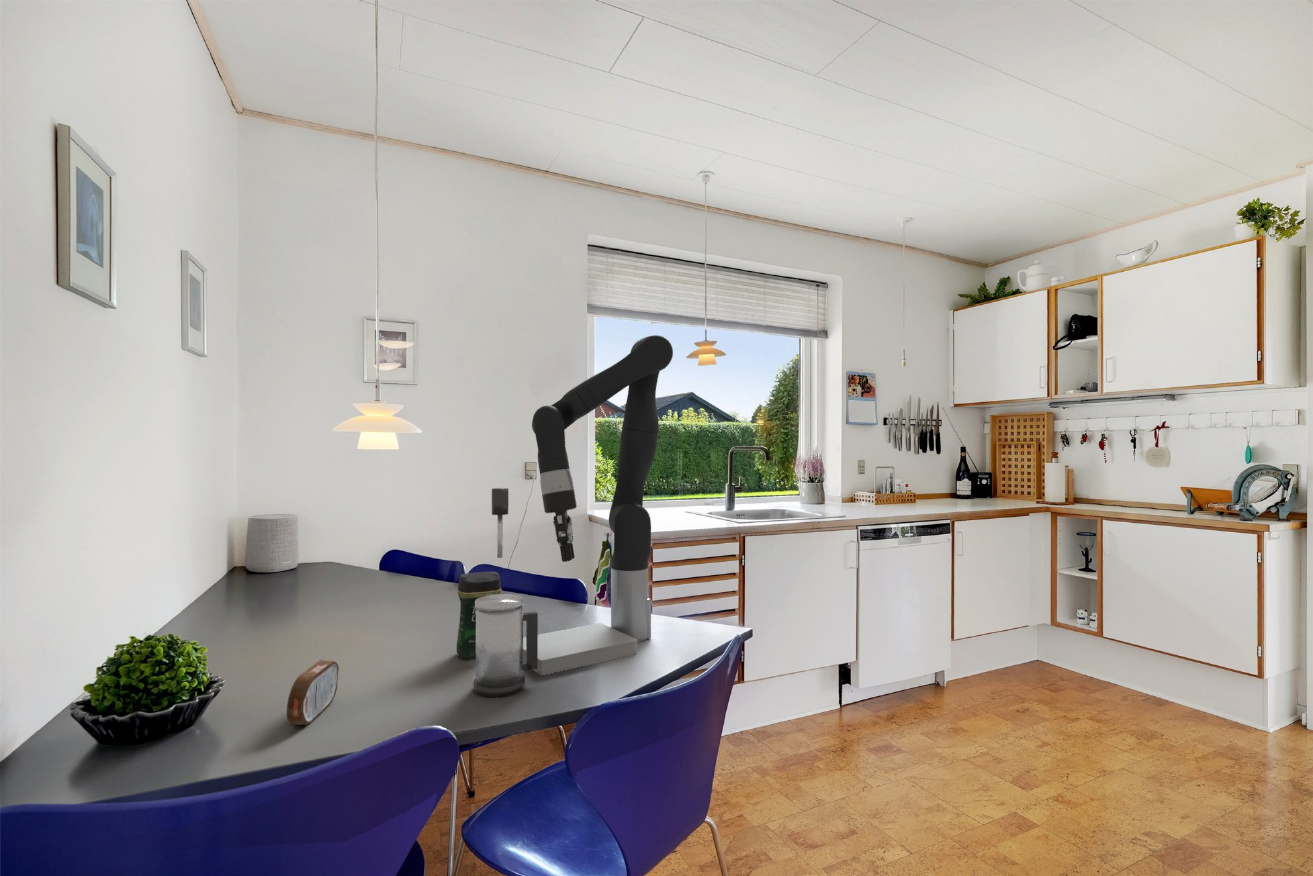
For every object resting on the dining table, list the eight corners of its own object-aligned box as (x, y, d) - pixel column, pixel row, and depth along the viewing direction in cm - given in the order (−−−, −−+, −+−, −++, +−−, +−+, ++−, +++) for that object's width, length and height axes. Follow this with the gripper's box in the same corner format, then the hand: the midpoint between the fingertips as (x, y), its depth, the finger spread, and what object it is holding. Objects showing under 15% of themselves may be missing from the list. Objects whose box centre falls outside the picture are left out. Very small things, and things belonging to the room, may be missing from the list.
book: (638, 639, 144) (541, 660, 130) (638, 656, 144) (541, 679, 130) (598, 621, 159) (507, 638, 145) (598, 637, 158) (507, 655, 145)
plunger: (507, 555, 126) (507, 488, 126) (509, 558, 123) (509, 489, 123) (490, 556, 125) (490, 488, 125) (492, 559, 122) (492, 489, 122)
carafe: (532, 674, 131) (532, 591, 131) (541, 691, 122) (541, 602, 122) (471, 682, 127) (471, 596, 127) (475, 700, 117) (476, 608, 118)
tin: (324, 698, 119) (324, 653, 119) (341, 697, 119) (342, 652, 119) (284, 734, 104) (284, 683, 104) (304, 734, 104) (304, 682, 104)
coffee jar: (459, 663, 138) (460, 577, 138) (454, 652, 145) (454, 571, 145) (504, 656, 142) (504, 573, 142) (496, 646, 149) (496, 567, 150)
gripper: (571, 486, 141) (583, 559, 139) (575, 489, 155) (586, 555, 153) (538, 492, 140) (549, 565, 139) (545, 495, 155) (555, 561, 153)
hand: (568, 560), depth 146 cm, fingers open, 8 cm apart
